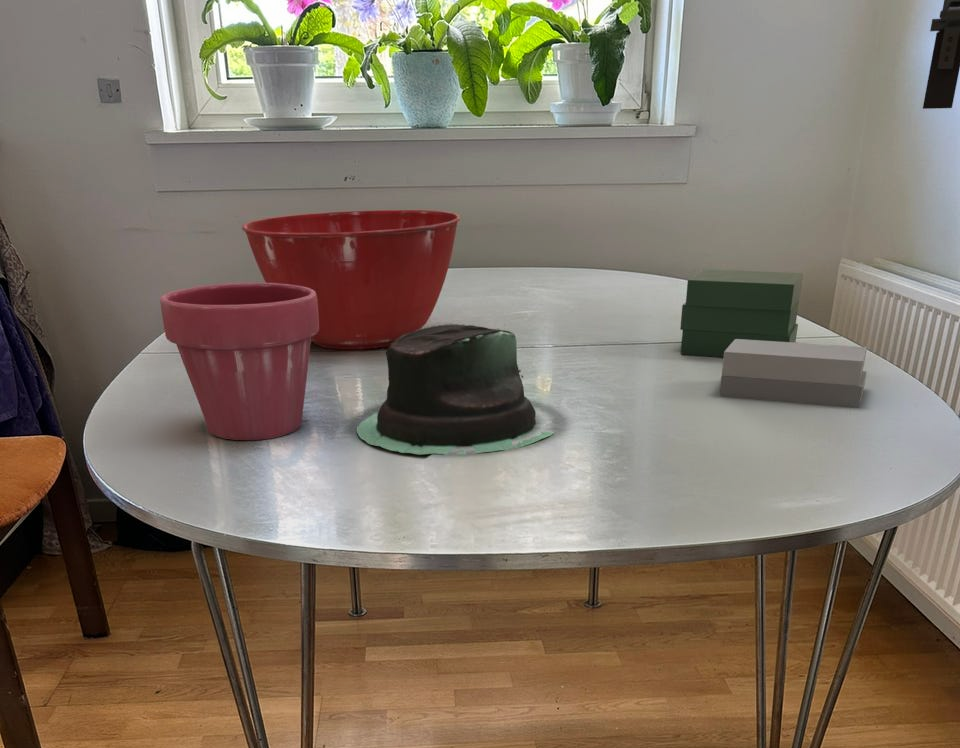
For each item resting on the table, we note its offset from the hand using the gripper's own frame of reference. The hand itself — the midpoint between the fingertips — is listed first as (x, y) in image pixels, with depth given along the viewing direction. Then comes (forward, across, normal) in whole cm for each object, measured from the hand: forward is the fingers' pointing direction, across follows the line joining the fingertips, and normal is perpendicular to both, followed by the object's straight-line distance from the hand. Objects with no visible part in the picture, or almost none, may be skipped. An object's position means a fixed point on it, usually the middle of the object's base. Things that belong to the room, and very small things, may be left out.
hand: (936, 108), depth 101 cm
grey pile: (+27, +20, -9) cm, 35 cm away
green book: (+21, -1, -18) cm, 27 cm away
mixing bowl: (+27, +8, -68) cm, 74 cm away
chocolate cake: (+27, +42, -38) cm, 63 cm away
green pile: (+27, -1, -18) cm, 32 cm away
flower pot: (+27, +49, -57) cm, 80 cm away
